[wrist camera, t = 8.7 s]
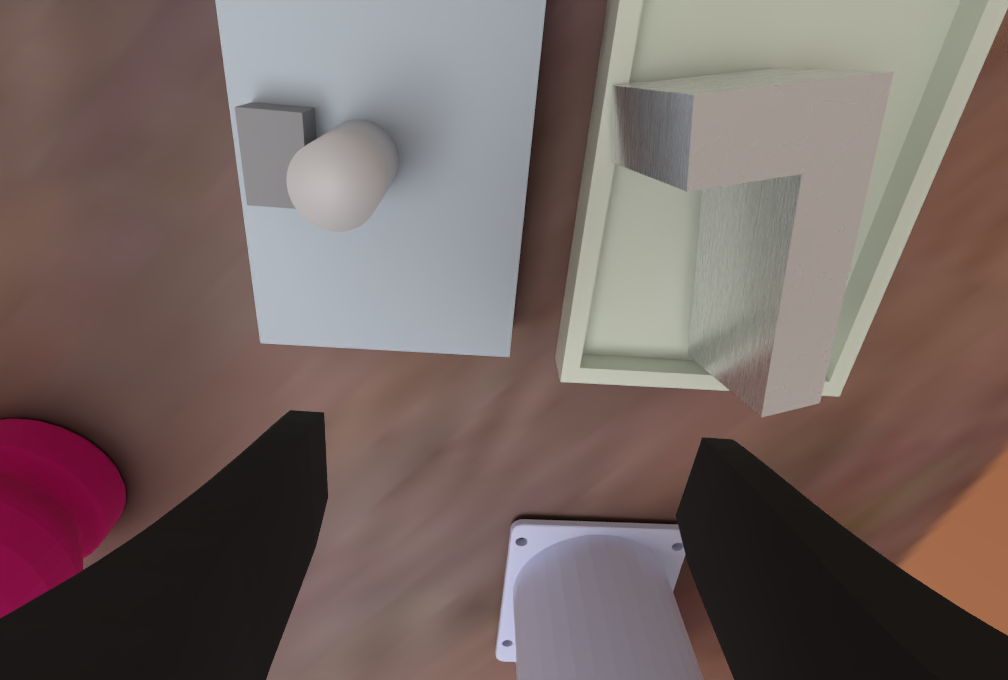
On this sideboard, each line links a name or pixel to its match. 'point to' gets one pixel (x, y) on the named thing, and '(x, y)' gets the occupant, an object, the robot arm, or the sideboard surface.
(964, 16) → the tray
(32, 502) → the pepper mill
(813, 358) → the hook
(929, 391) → the sideboard surface
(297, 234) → the vise block
